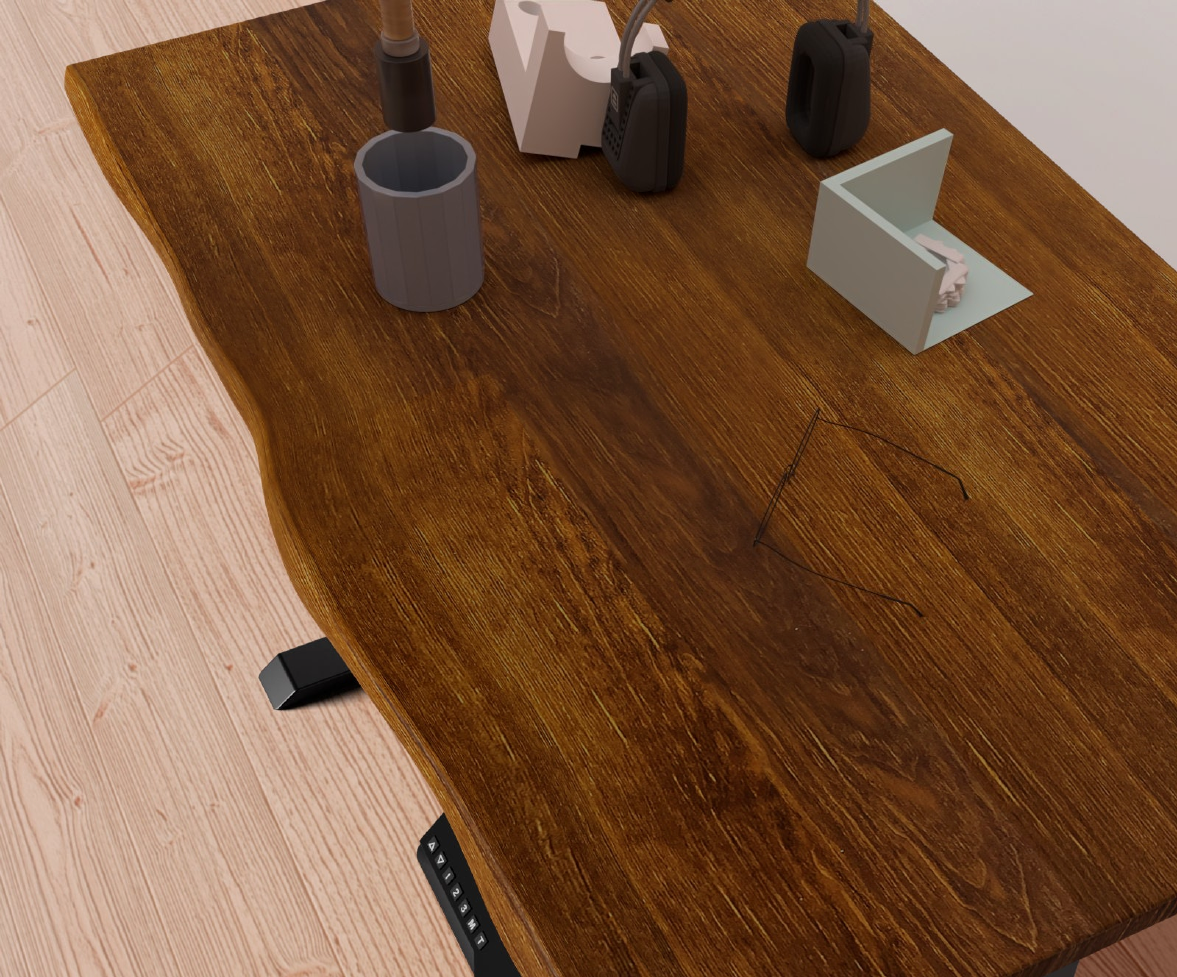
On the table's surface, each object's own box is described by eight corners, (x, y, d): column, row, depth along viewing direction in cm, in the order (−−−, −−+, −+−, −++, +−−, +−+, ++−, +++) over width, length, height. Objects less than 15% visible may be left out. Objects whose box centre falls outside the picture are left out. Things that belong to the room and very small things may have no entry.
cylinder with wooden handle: (379, 132, 85) (346, -85, 73) (388, 101, 87) (358, -113, 76) (432, 134, 84) (408, -83, 73) (440, 103, 87) (417, -111, 75)
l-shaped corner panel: (914, 355, 91) (936, 270, 85) (806, 266, 97) (820, 181, 91) (1033, 294, 95) (1063, 209, 89) (923, 212, 101) (943, 128, 95)
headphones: (838, 112, 109) (880, -133, 94) (871, 153, 106) (920, -95, 90) (595, 161, 105) (596, -87, 89) (621, 205, 101) (626, -46, 86)
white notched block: (632, 165, 107) (668, 48, 99) (520, 151, 104) (549, 29, 96) (591, 53, 118) (621, -60, 110) (488, 38, 115) (512, -80, 107)
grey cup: (364, 309, 94) (344, 194, 86) (384, 239, 99) (365, 123, 91) (477, 314, 93) (467, 199, 86) (490, 243, 99) (482, 128, 91)
